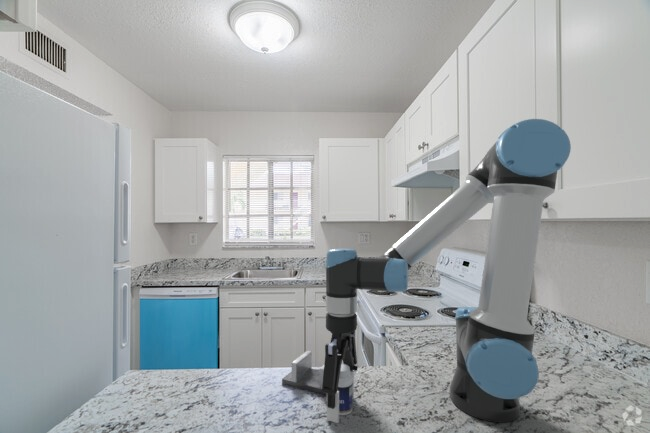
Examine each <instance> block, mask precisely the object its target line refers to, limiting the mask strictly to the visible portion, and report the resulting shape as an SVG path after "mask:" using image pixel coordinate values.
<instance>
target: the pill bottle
mask: <svg viewBox="0 0 650 433" xmlns="http://www.w3.org/2000/svg"><path fill="white" fill-rule="evenodd" d="M337 391H339V416H347V415H349V414H351V413H352V411H353V408H354V405H353V404H354V402H353V401H354V398H353V379H352V377H351V375H350V367H349V366H348V365H346V364H344V363H342V364H341V370H340V377H339V383H338V389H337Z"/></svg>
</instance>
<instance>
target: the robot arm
mask: <svg viewBox="0 0 650 433" xmlns="http://www.w3.org/2000/svg"><path fill="white" fill-rule="evenodd" d="M571 145H572V144H571V141H570V138H569V136H568V134H567V132H566V131H565V130H564V129H562V128H561V126H559V125H558V124H557V123H555V122H553V121H550V120H546V119H543V118H529V119H523V120H520V121H518V122H516V123H514V124H512V125H510V127H508V128H506V129H505V130H504V131H503V132H501V134H500V136H499V137H498V138H497V140H496V141H495V143H494V144H493V145H492V146H491V147H490V148H489V150H488V151H486V152H487V153H486V154H485V155H484V157H483V158H482V159H481V161H480V162H479V163H478V164H477V165H476V166H475V168H474V169H472V170H471V171H470V172H469V173H468V174H467V175H466V176H465V182H464V183H462V184H461V185H460V186H459V187H458V188H457V189H456V190H454V192H452V194H450V195H449V196H447V198H446V199H445V200H443V201H441V203H440V204H439V205H437V206H436V207H435V208H434V209H433V210H432V211H431V212H430V213H428V214H427V215H426V216H425V217H424V218H422V220H421V221H419V222H418V223H417V224H415V226H414V227H412V228H411V229H410V230H409V231H407V233H406V234H404V235H403V236H402V237H401V238H400V239H399V240H397V241H396V242H395V243H394V244H393V245H392V246H391V247H389V248H388V249H387V250H386V251H384V253H383V254H381V255H380V256H379V257H373V258H372V257H360V256H358V253H357V250H356V249H353V248H331V249H329V250H328V251H327V253H326V262H325V286H326V288H325V291H326V292H325V297H324V301H325V310H326V312H327V313H326V314H325V328H326V330H327V331H329V333H331V337H330V342H329V343H326V344H325V345H324V355H325V356H324V364H323V365H324V374H323V384H322V392H324V393H327V396H326V420H327V421H329V422H333V423H336V424H338V423H339V422H340V415H339V391H337V389H338V383H339V377H340V370H341V364H346V365H348V366H349V367H350V375H351V377H352V379H353V399H355V371H358V370H359V369H358V368H359V366H358V365H357V363H358V359H357V358H358V356H357V347H356V330H357V328H358V327H357V326H358V315H357V312H358V292H357V290H367V291H368V290H369V291H376V292H377V291H381V292H390V293H396V292H397V293H399V292H400V293H401V292H406V291H407V290H408V287H409V270H410V269H411V268H413V266H415V265H416V264H417V263H418V262H419V261H421V260H422V259H423V258H424V257H425V256H427V255H428V254H429V253H430V252H431V251H432V250H434V249H435V248H436V247H437V246H439V245H440V244H441V243H442V242H444V241H445V240H446V239H447V238H448V237H449V236H451V235H452V234H453V233H454V232H456V230H458V229H459V228H460V227H461V226H463V225H464V224H465V223H466V222H467V221H469V220H470V219H471V218H472V217H473V216H475V215H476V214H477V213H478V212H479V211H481V210H482V209H483V208H484V207H485V206H487V205H488V204H492V209H491V215H490V224H489V229H488V230H489V231H488V238H487V244H486V252H485V258H484V263H483V271H482V272H483V273H482V280H481V285H480V286H481V287H480V293H479V299H478V306H460V307H458V308H457V309H456V311H455V317H454V320H455V326H456V327H455V332H456V333H455V334H456V336H455V339H456V343H455V344H456V368H455V370H454V374H453V377H452V379H451V383H450V385H449V398H450V400H451V402H452V404H454V405H455V406H456V407H457V408H458V409H459V410H461V411H462V412H464V413H465V414H467V415H470V416H472V417H475V418H476V419H480V420H483V421H488V422H492V423H493V422H494V423H510V422H514V421H516V420H518V419H519V417H520V416H521V404H520V398H521V397H523V396H527V395H529V394H530V393H531V392H532V391H533V390H534V389H535V388H536V386H537V384H538V381H539V378H540V371H539V366H538V363H537V359H536V358H535V357H534V354H533V349H534V348H533V347H534V340H535V333H536V330H535V327H533V326H532V325H531V323H530V322H529V321H528V313H529V306H530V299H531V292H532V284H533V277H534V272H535V271H534V270H535V263H536V256H537V250H538V242H539V236H540V227H541V223H542V222H541V220H542V213H543V207H544V206H543V205H544V201H545V200H546V199H548V197H550V196H551V195H553V194H554V193H555V190H556V185H557V184H556V183H557V178H558V171H559V170H560V169H562V167H564V165H565V164H566V162H567V161H568V159H569V157H570V154H571V149H572V147H571Z"/></svg>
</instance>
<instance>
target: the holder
mask: <svg viewBox="0 0 650 433" xmlns="http://www.w3.org/2000/svg"><path fill="white" fill-rule="evenodd" d="M312 353H313V352H312V350H306V351H304V352H303V353H301V355H300V356H298V357H296V359H294V360H293V361H292V362H291V371H290V372H289V373H287V374H286V375H285V376H284V377H282V380H281V385H282V386H286V387H291V388H292V389H293V388H294V389H298V390H303V391H306V392H310V393H313V394H316V395H321V396H325V397H327V393H324V392H322V384H323V374H324V364H323V365H322V366H321V367H319V369H316V368H312V363H313V361H312Z"/></svg>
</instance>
